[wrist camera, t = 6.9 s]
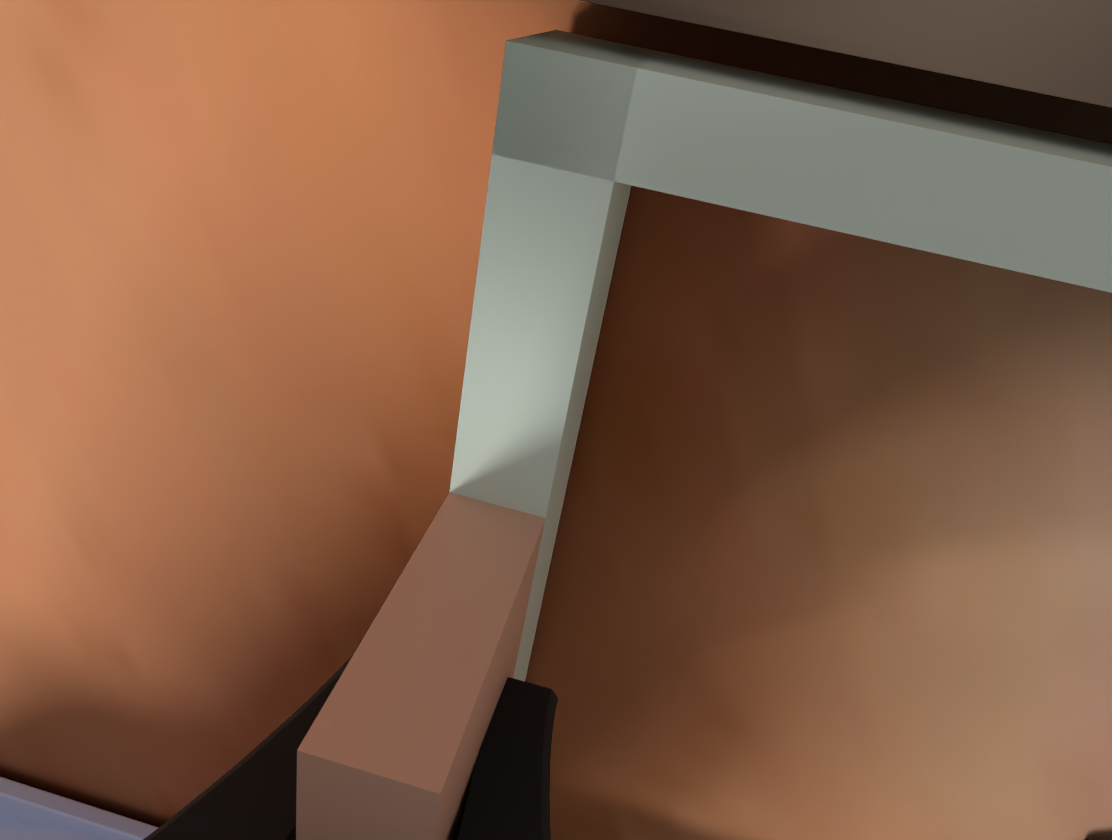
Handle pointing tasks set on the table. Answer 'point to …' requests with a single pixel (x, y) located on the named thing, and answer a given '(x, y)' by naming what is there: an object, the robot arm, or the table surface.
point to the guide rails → (934, 35)
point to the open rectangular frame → (572, 336)
